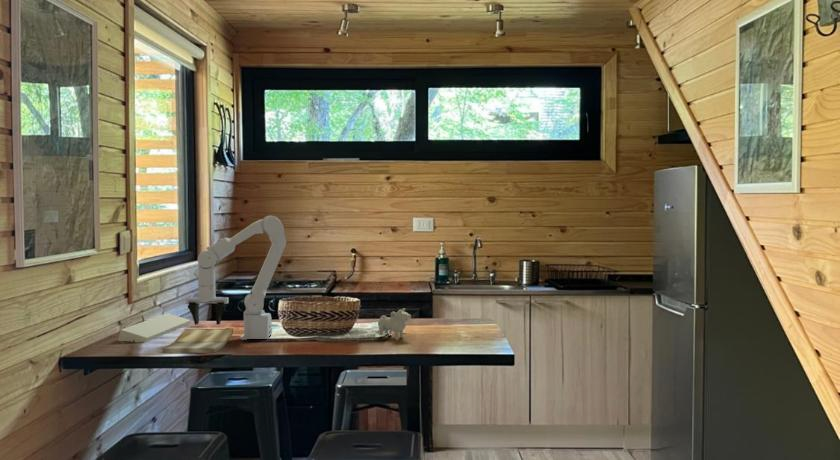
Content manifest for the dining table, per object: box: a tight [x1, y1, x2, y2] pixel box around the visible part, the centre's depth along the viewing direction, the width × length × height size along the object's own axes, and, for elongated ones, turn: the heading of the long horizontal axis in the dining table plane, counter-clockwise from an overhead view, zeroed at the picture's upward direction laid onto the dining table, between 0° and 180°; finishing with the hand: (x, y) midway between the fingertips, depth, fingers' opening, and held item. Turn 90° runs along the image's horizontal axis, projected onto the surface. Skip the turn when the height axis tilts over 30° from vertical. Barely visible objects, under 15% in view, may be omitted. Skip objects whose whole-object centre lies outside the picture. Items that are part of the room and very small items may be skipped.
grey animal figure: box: [377, 307, 412, 341], centre depth 241 cm, size 5×13×11 cm, turn 60°
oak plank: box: [174, 328, 234, 346], centre depth 234 cm, size 17×10×2 cm, turn 89°
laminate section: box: [162, 341, 226, 354], centre depth 224 cm, size 17×10×2 cm, turn 89°
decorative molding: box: [117, 312, 192, 343], centre depth 253 cm, size 34×5×10 cm
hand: (207, 324), depth 237 cm, fingers open, 7 cm apart
